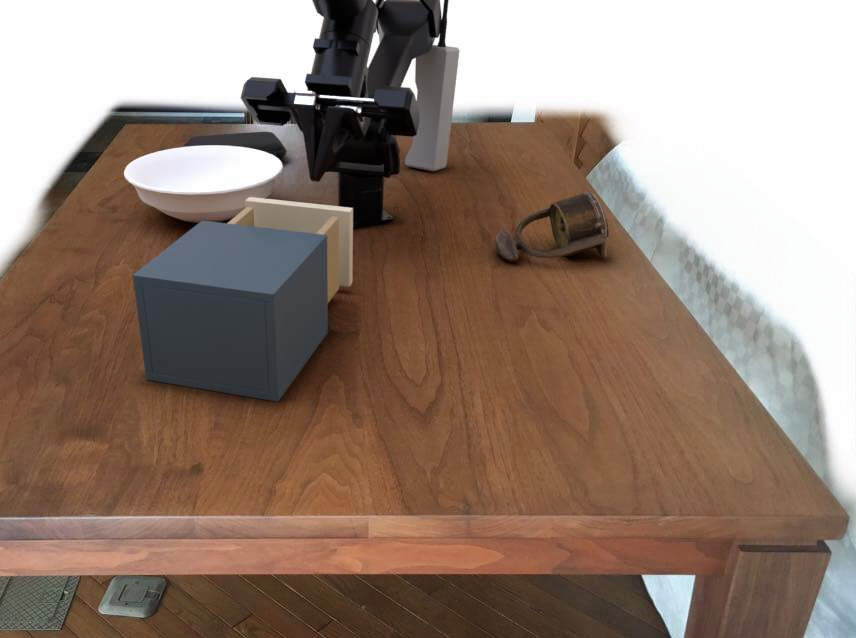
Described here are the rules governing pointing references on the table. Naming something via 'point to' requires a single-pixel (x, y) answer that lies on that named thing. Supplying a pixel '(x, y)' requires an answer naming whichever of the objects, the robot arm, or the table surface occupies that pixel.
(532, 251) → the brass cylinder with loop
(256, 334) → the cabinet
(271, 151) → the carrying case
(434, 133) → the vintage mobile phone
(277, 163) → the bowl
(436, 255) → the table surface
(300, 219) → the drawer
